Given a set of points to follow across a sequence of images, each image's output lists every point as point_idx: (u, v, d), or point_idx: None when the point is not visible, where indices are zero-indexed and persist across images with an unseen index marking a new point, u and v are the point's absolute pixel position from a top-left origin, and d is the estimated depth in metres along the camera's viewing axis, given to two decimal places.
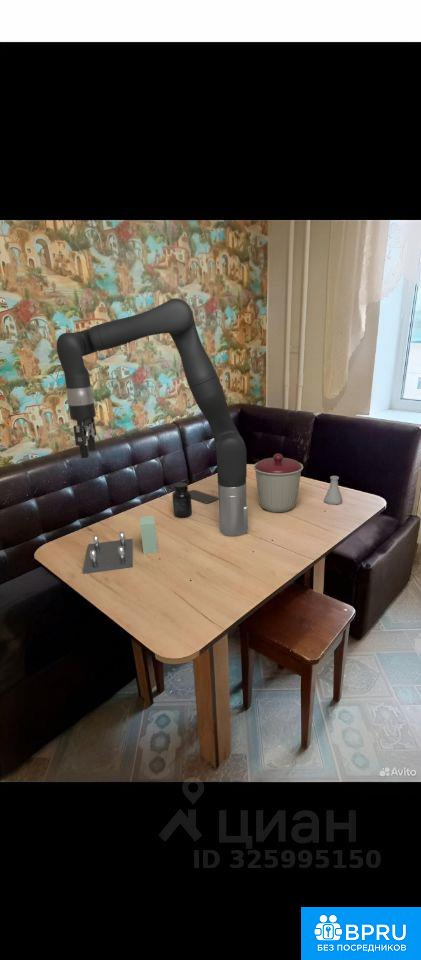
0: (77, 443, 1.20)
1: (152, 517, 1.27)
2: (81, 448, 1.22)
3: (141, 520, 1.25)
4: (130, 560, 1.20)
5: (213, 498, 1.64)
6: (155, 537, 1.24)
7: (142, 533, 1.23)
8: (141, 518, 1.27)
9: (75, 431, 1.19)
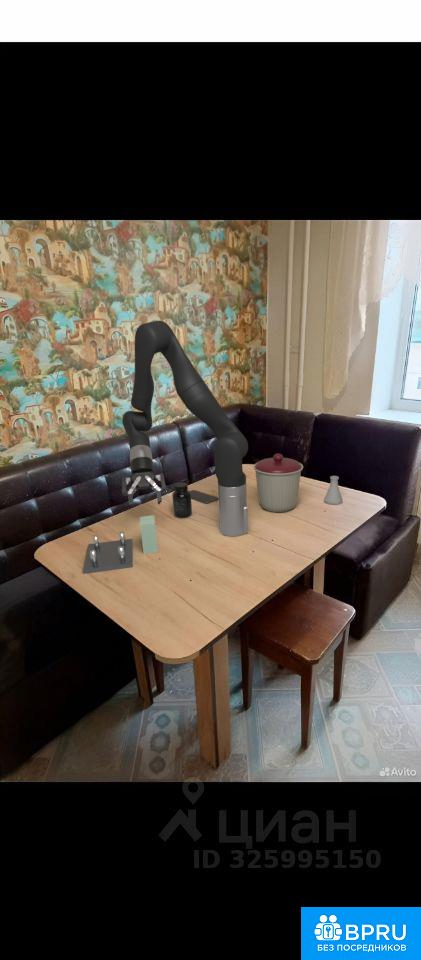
0: None
1: (152, 517, 1.27)
2: None
3: (141, 520, 1.25)
4: (130, 560, 1.20)
5: (213, 498, 1.64)
6: (155, 537, 1.24)
7: (142, 533, 1.23)
8: (141, 518, 1.27)
9: None
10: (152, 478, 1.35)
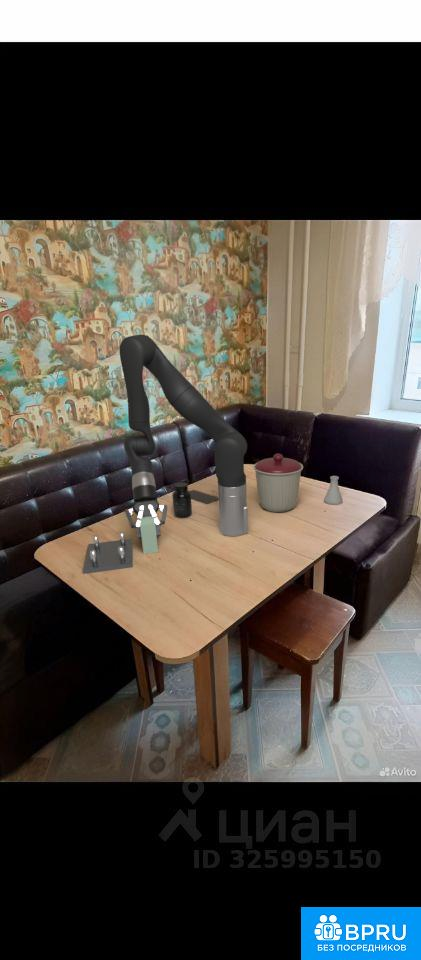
0: None
1: (152, 517, 1.27)
2: None
3: (141, 520, 1.25)
4: (130, 560, 1.20)
5: (213, 498, 1.64)
6: (155, 537, 1.24)
7: (142, 533, 1.23)
8: None
9: None
10: (155, 507, 1.29)
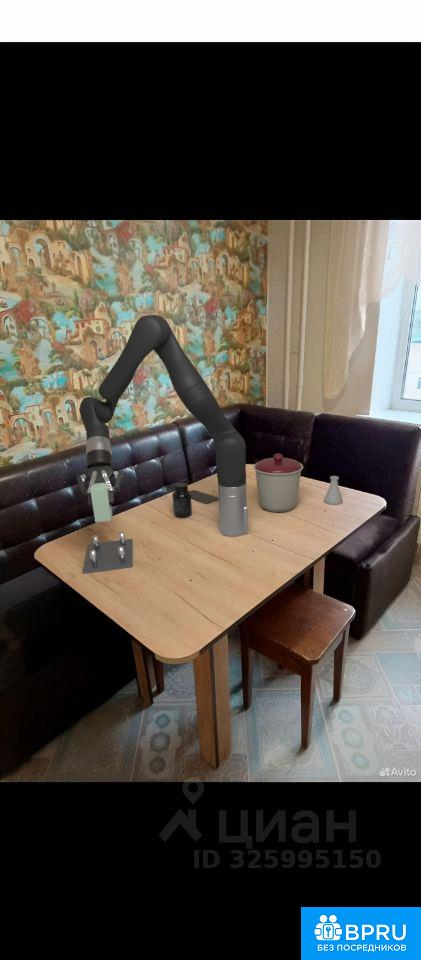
0: (82, 492, 1.19)
1: (105, 483, 1.19)
2: None
3: (93, 486, 1.17)
4: (130, 560, 1.20)
5: (213, 498, 1.64)
6: (107, 504, 1.16)
7: (93, 499, 1.15)
8: None
9: None
10: (110, 473, 1.21)
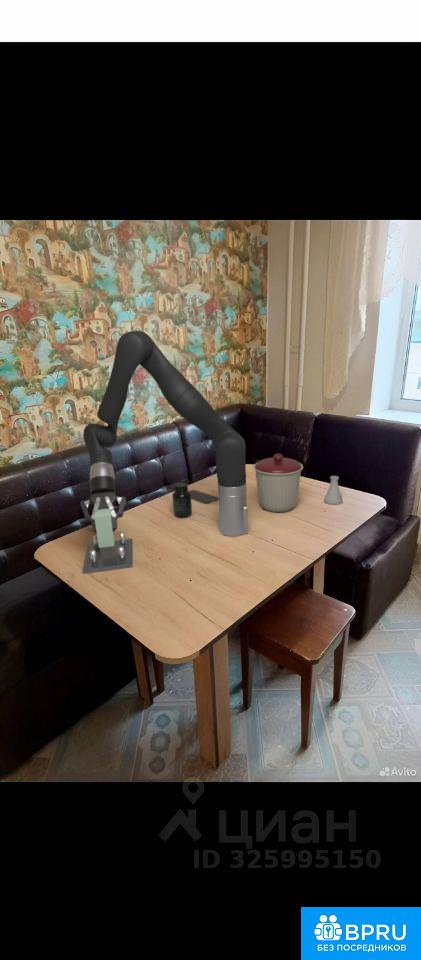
0: (86, 518, 1.22)
1: None
2: (92, 523, 1.21)
3: (96, 512, 1.20)
4: (130, 560, 1.20)
5: (213, 498, 1.64)
6: (111, 530, 1.19)
7: (97, 526, 1.18)
8: None
9: None
10: (113, 499, 1.24)
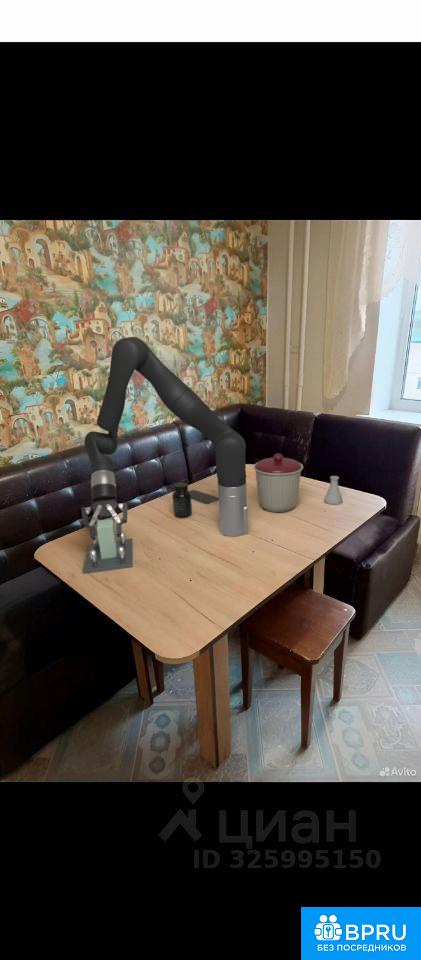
0: (84, 525, 1.23)
1: (111, 520, 1.23)
2: None
3: (99, 524, 1.21)
4: (130, 560, 1.20)
5: (213, 498, 1.64)
6: (113, 541, 1.20)
7: (99, 537, 1.19)
8: (99, 522, 1.23)
9: None
10: (114, 507, 1.24)
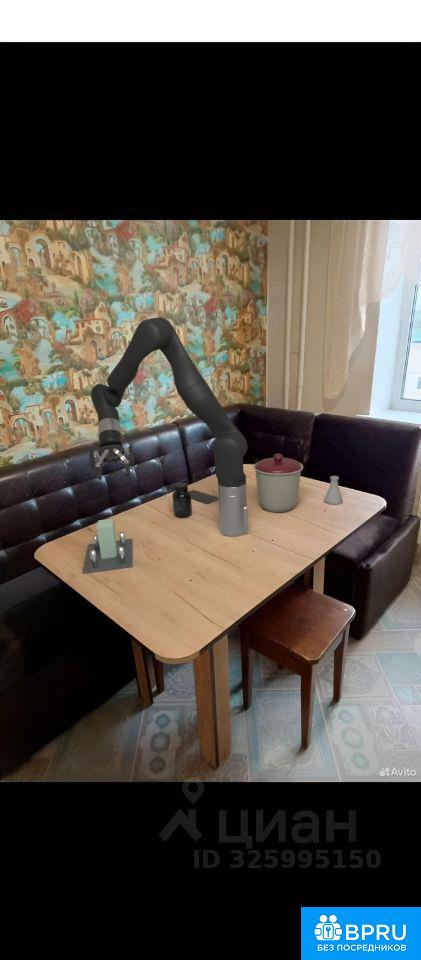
0: None
1: (111, 520, 1.23)
2: (96, 471, 1.30)
3: (99, 524, 1.21)
4: (130, 560, 1.20)
5: (213, 498, 1.64)
6: (113, 541, 1.20)
7: (99, 537, 1.19)
8: (99, 522, 1.23)
9: None
10: (120, 451, 1.32)
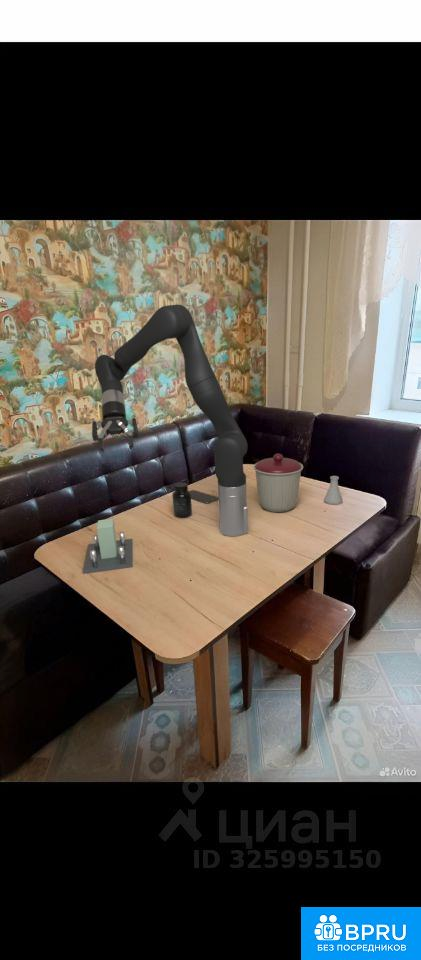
0: (93, 438, 1.28)
1: (111, 520, 1.23)
2: None
3: (99, 524, 1.21)
4: (130, 560, 1.20)
5: (213, 498, 1.64)
6: (113, 541, 1.20)
7: (99, 537, 1.19)
8: (99, 522, 1.23)
9: None
10: (124, 423, 1.30)
